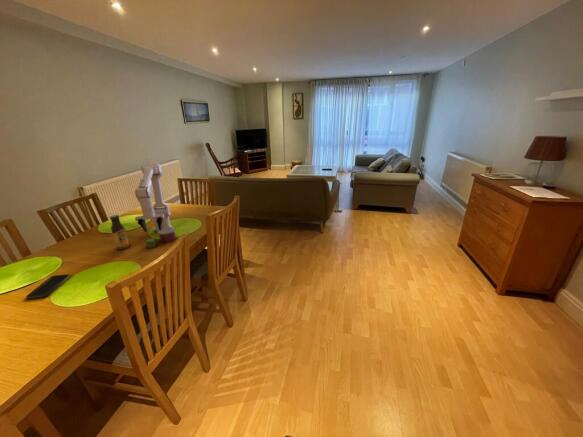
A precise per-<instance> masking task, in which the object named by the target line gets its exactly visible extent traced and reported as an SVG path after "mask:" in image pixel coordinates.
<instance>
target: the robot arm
mask: <svg viewBox="0 0 583 437" xmlns="http://www.w3.org/2000/svg"><path fill="white" fill-rule="evenodd" d="M140 170H141V172H142V174H143V176H142V178H141V179H140V180H139V184H138V187H137V188H136V189H135V191H134V193H135V194H134V195H135V198H136V199H137V201H138V203H139V205H140V208H141V212H142V215H139V216H135V217H134V220H135V222H137V224H138V225H139V226H140V227H141V228H142V230H143V231H144V232H145V233H147V232H148V227H147V223H146V221H148V220H153V225H154V228H155V229H154V231H155V232H158V230H159V231H161V229H162V228H166V227H173V228H175V226H172V224H171V221H170V216H171V208H170V205H169V204H168V203H166V202H165V201H164V197H163V190H162V184H161V177H162V176H163V171H162V170H163V169H162V167H161V164H160V163H159V162H156V163H142V164H141V165H140ZM152 192H153V198H154V204H153V201H152Z"/></svg>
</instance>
